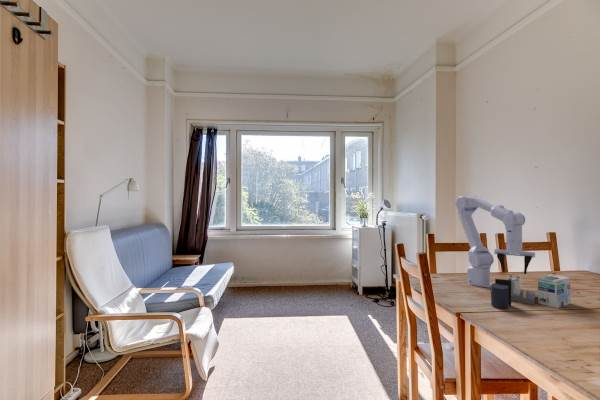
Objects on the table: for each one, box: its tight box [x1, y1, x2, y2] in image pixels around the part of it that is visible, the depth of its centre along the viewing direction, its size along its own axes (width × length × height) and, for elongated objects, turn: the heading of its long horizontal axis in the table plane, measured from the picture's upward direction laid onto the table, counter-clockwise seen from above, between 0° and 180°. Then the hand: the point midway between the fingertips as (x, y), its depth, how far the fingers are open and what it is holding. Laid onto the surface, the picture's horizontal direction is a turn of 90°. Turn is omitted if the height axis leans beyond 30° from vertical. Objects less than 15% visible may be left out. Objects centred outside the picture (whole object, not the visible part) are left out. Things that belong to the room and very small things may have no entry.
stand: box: [511, 287, 536, 305], centre depth 134 cm, size 14×12×4 cm
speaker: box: [490, 278, 512, 310], centre depth 124 cm, size 8×6×10 cm
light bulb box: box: [537, 274, 572, 309], centre depth 125 cm, size 11×7×11 cm, turn 118°
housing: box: [505, 275, 522, 296], centre depth 133 cm, size 8×5×6 cm, turn 143°
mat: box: [521, 288, 538, 297], centre depth 141 cm, size 16×9×1 cm, turn 53°
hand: (514, 272), depth 138 cm, fingers open, 7 cm apart
